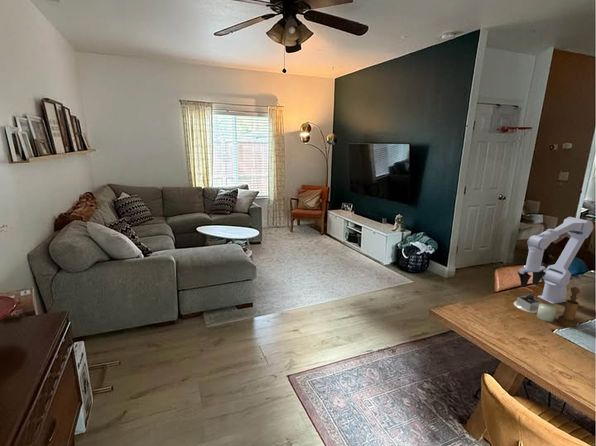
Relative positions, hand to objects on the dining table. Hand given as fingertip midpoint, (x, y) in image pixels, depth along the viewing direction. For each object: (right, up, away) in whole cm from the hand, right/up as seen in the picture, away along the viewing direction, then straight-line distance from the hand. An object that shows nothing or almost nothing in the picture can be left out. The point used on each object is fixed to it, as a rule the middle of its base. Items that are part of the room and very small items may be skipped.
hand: (529, 285), depth 155 cm
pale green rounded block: (-1, -13, -11) cm, 17 cm away
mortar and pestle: (+6, -15, -15) cm, 22 cm away
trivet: (-1, -11, -1) cm, 11 cm away
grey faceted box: (-2, -10, 0) cm, 10 cm away
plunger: (-1, -10, -1) cm, 10 cm away
